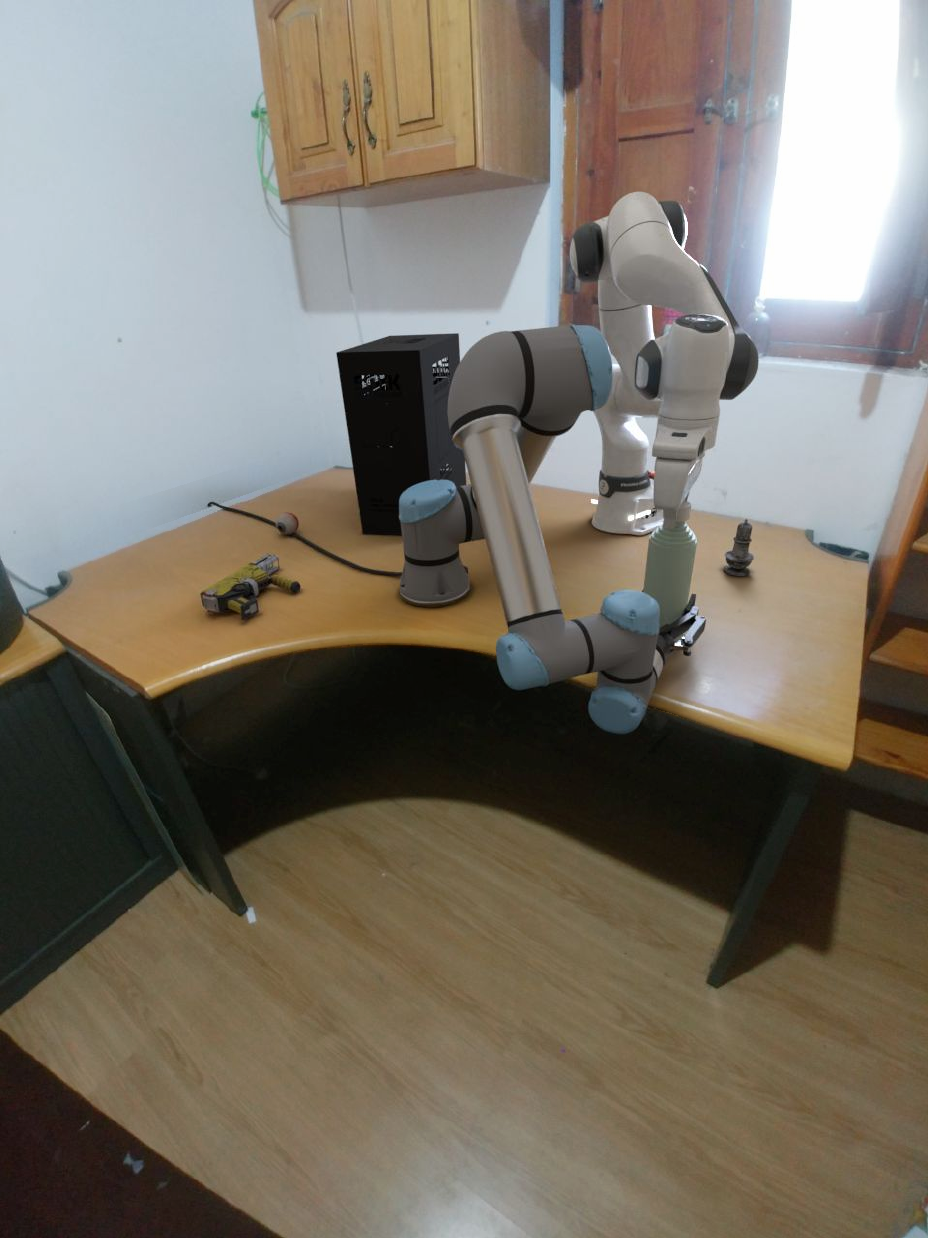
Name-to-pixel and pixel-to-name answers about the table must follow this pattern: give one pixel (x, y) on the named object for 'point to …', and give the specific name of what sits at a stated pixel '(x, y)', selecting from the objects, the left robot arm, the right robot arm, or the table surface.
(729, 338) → the right robot arm
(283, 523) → the eyeball
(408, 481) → the cardboard box
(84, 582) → the table surface
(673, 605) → the bottle
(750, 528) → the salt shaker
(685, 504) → the cap
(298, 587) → the toy gun
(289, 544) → the table surface
